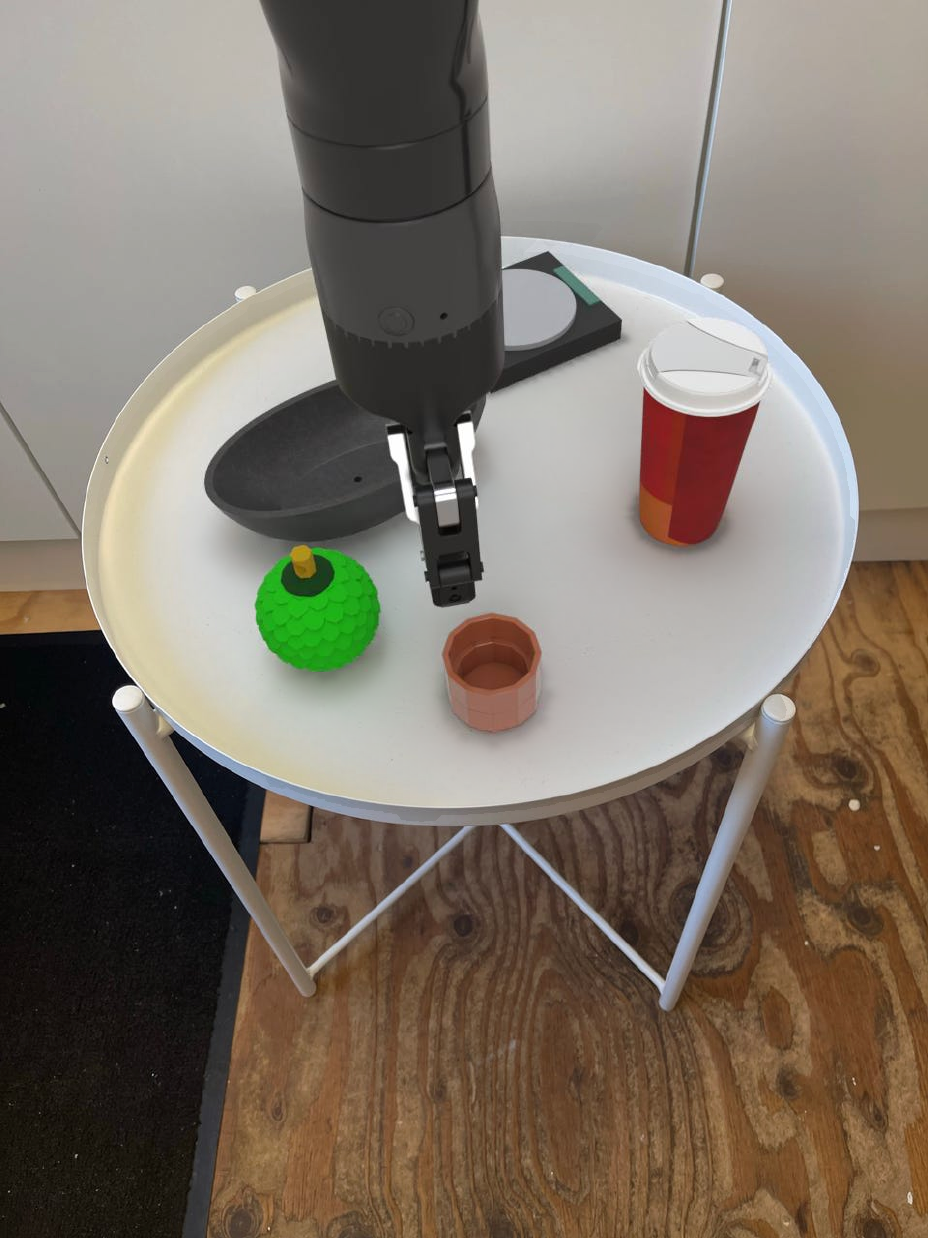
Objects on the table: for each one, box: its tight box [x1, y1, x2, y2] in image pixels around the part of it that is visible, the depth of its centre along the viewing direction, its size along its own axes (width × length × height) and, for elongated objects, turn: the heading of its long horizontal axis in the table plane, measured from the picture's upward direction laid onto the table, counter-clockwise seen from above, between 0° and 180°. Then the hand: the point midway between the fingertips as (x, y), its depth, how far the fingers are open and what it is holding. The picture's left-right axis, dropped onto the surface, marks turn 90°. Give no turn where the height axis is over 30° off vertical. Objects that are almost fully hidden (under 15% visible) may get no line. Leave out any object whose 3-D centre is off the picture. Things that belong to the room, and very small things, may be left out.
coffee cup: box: [636, 317, 773, 547], centre depth 66 cm, size 8×8×15 cm
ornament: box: [254, 544, 382, 673], centre depth 63 cm, size 8×8×10 cm
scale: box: [489, 250, 623, 394], centre depth 85 cm, size 13×12×3 cm
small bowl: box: [441, 612, 543, 733], centre depth 62 cm, size 6×6×5 cm
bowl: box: [203, 378, 487, 543], centre depth 73 cm, size 12×22×6 cm, turn 120°
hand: (441, 537), depth 52 cm, fingers open, 8 cm apart
